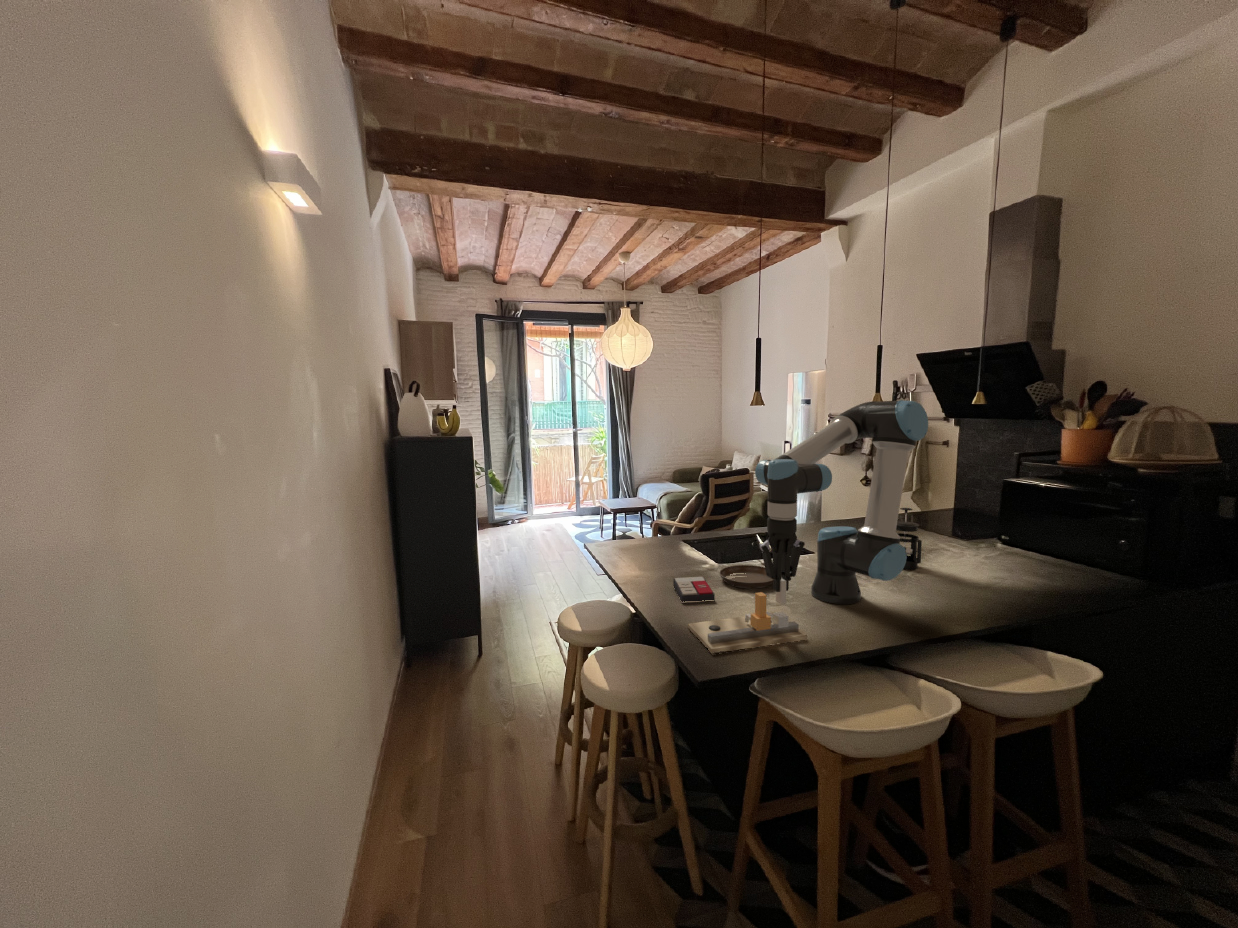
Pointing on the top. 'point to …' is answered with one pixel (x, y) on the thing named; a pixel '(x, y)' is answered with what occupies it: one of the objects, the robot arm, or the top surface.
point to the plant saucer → (753, 573)
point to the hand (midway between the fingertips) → (780, 602)
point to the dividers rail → (778, 627)
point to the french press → (910, 527)
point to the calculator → (693, 589)
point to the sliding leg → (759, 614)
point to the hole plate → (733, 624)
